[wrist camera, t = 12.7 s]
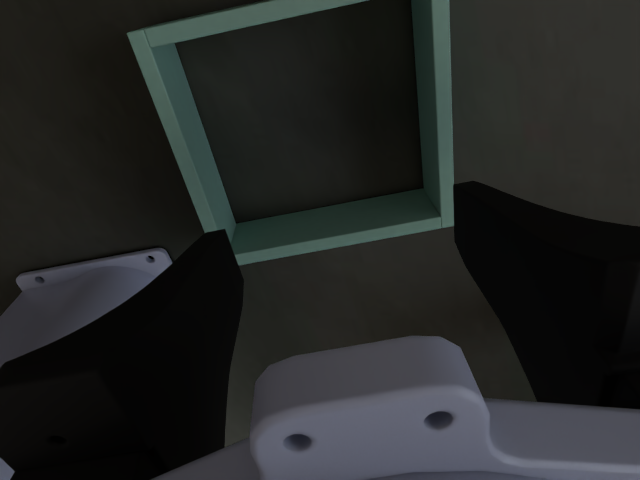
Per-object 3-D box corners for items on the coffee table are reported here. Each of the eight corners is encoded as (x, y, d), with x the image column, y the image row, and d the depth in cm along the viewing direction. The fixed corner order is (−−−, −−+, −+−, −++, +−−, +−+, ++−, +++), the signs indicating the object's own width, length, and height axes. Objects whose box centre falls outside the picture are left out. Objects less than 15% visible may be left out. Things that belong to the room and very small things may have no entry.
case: (228, 235, 25) (218, 269, 22) (152, 25, 19) (125, 32, 16) (436, 196, 24) (455, 226, 21) (424, -36, 18) (448, -40, 15)
